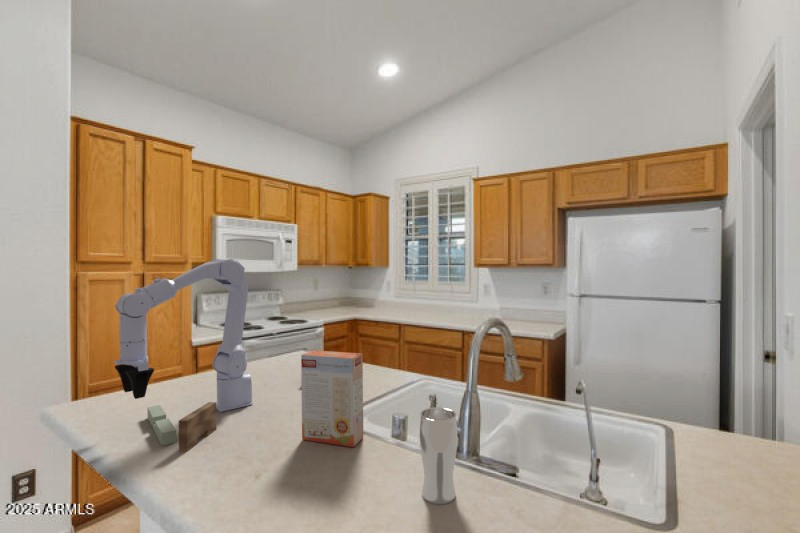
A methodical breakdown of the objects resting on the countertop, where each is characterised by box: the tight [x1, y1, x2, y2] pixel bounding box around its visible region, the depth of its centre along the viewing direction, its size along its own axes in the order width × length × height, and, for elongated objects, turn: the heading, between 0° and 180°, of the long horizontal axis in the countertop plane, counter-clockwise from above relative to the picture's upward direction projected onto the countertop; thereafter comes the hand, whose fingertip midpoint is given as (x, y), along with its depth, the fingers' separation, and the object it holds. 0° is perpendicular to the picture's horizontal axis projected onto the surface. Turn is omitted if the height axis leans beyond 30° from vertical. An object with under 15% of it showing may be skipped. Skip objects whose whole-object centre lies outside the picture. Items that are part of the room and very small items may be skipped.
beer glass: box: [418, 406, 458, 505], centre depth 73 cm, size 7×7×15 cm
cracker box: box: [300, 349, 364, 448], centre depth 97 cm, size 14×6×21 cm, turn 71°
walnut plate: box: [178, 401, 217, 452], centre depth 97 cm, size 12×2×7 cm, turn 175°
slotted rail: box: [147, 404, 177, 447], centre depth 103 cm, size 3×22×3 cm, turn 40°
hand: (134, 394), depth 101 cm, fingers open, 7 cm apart
